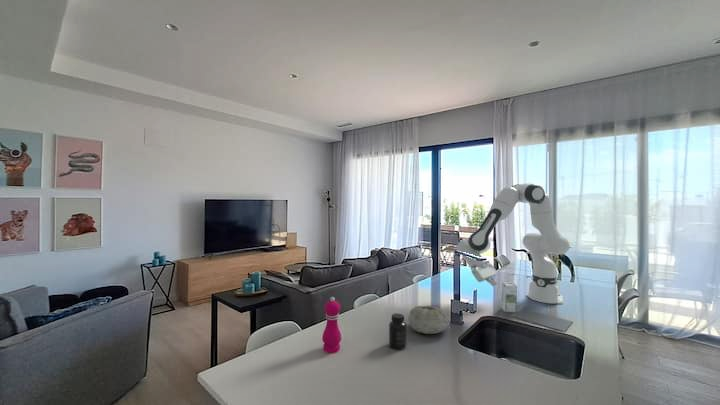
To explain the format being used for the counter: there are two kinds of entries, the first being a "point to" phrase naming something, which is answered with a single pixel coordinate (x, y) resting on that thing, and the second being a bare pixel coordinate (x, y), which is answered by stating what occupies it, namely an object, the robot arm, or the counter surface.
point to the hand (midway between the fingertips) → (495, 285)
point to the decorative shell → (428, 319)
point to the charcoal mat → (543, 319)
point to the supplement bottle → (397, 332)
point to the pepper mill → (331, 327)
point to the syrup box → (509, 297)
